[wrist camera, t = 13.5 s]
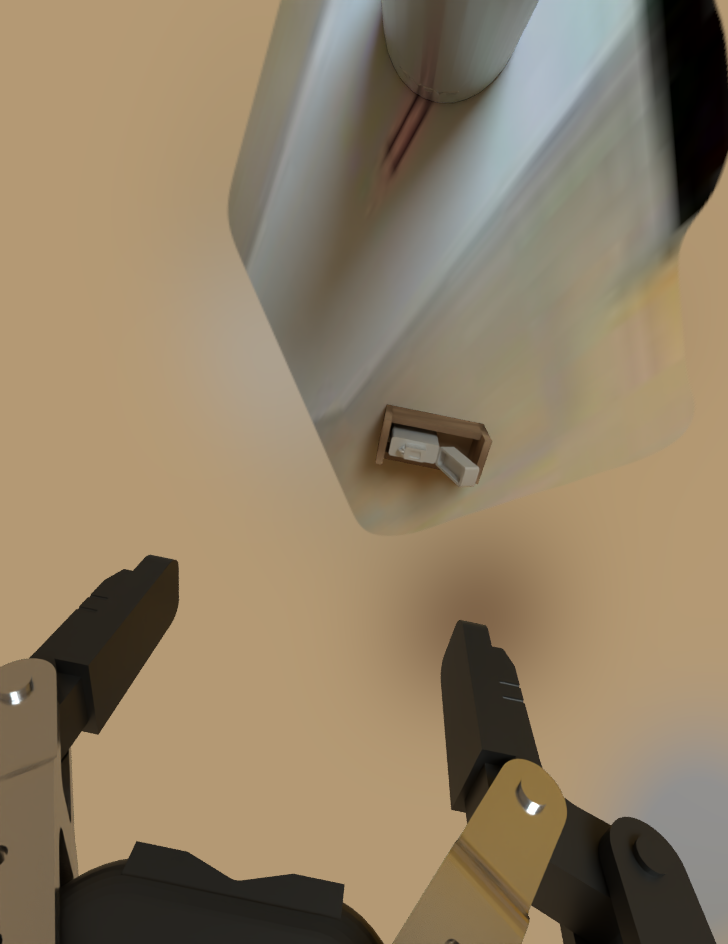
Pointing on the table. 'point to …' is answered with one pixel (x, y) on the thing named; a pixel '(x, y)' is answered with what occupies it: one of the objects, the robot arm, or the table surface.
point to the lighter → (432, 453)
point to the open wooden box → (449, 431)
